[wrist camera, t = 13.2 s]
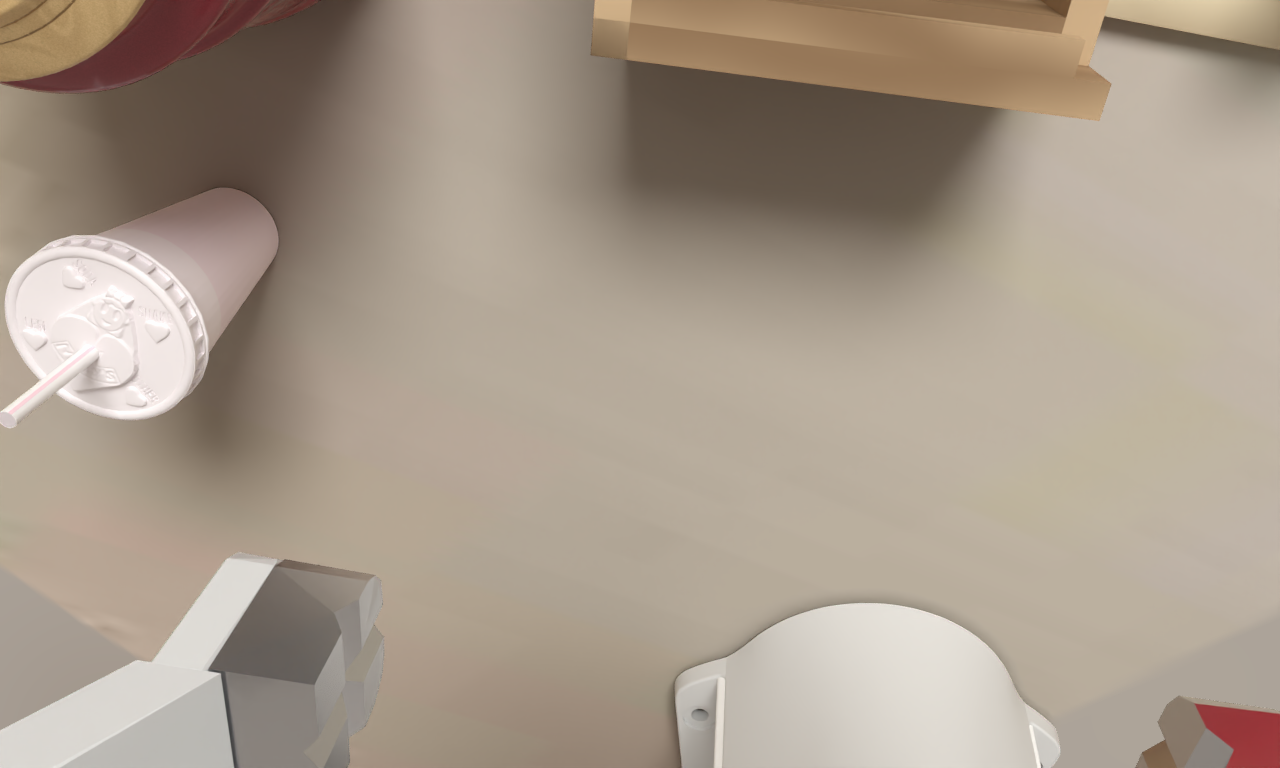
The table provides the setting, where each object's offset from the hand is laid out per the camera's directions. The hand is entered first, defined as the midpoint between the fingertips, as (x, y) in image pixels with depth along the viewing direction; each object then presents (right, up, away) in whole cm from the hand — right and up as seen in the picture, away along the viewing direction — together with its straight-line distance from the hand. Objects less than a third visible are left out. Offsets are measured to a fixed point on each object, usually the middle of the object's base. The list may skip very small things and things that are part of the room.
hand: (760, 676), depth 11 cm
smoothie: (-18, +9, +31) cm, 37 cm away
